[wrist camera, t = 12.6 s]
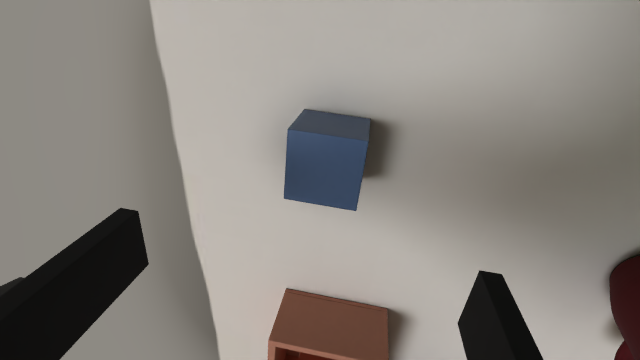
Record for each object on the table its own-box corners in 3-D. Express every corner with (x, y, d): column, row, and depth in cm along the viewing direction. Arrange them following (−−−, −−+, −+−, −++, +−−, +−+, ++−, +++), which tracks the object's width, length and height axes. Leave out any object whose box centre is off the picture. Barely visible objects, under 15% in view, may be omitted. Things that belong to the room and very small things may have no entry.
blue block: (304, 108, 22) (287, 129, 18) (370, 118, 21) (368, 141, 17) (299, 169, 24) (283, 199, 20) (359, 178, 23) (356, 211, 19)
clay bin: (286, 288, 29) (268, 340, 25) (387, 308, 29) (389, 366, 24) (281, 352, 34) (265, 408, 29) (369, 372, 33) (368, 432, 28)
